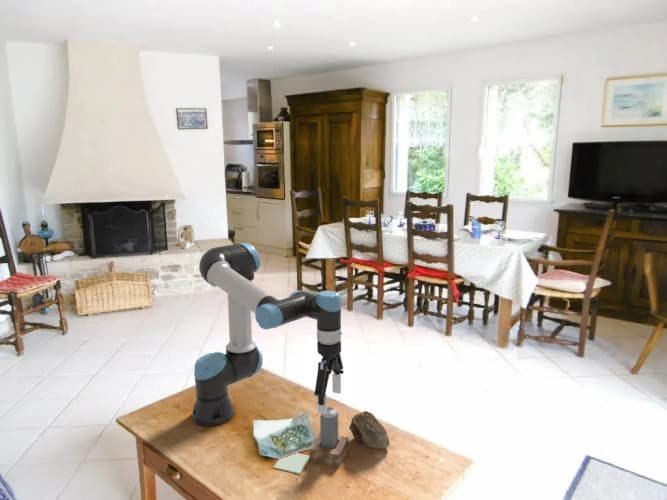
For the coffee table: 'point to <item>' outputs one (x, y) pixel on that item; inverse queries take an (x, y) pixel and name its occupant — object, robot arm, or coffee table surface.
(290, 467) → the mat
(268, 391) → the coffee table surface
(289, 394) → the coffee table surface
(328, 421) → the plug
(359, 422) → the rock
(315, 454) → the brown square frame
